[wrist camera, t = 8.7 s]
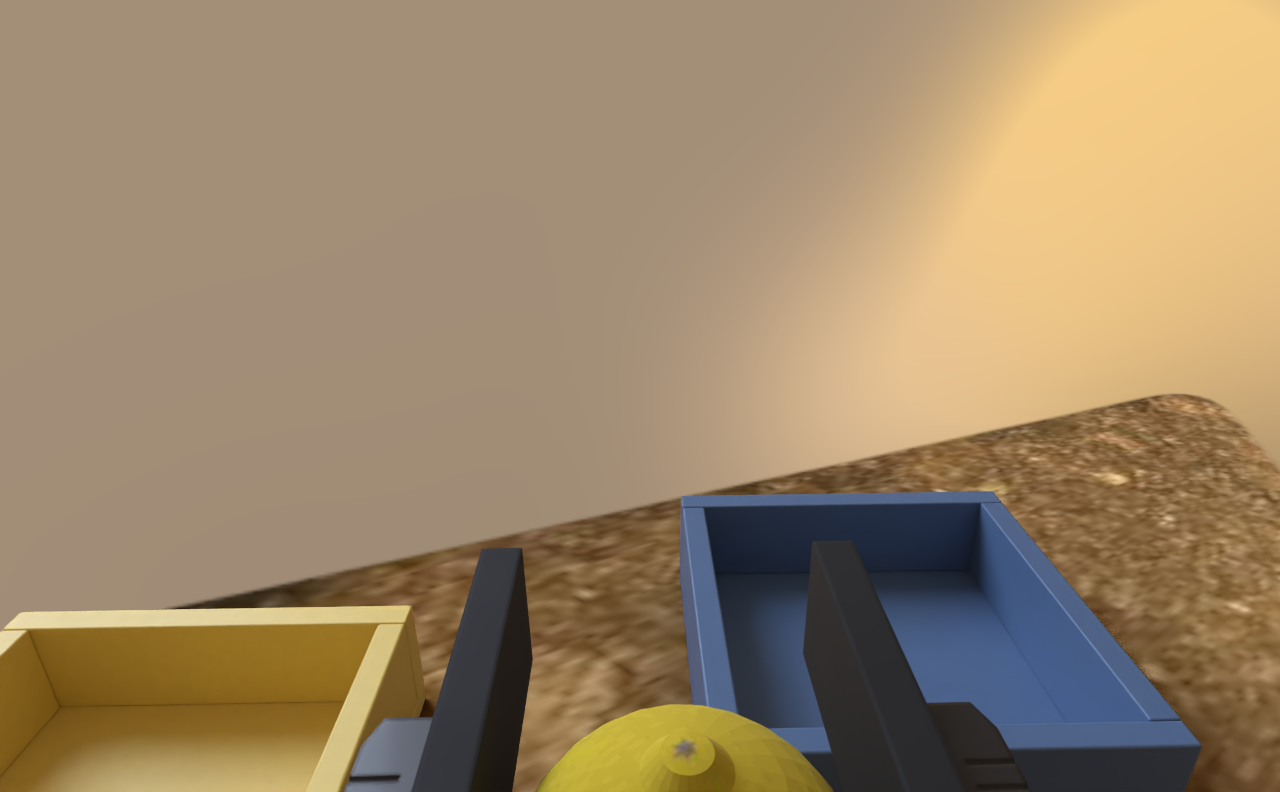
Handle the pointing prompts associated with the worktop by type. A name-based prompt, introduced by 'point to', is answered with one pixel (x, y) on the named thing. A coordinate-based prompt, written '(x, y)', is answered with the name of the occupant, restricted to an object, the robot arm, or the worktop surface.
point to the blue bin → (925, 632)
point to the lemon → (683, 756)
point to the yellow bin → (200, 697)
